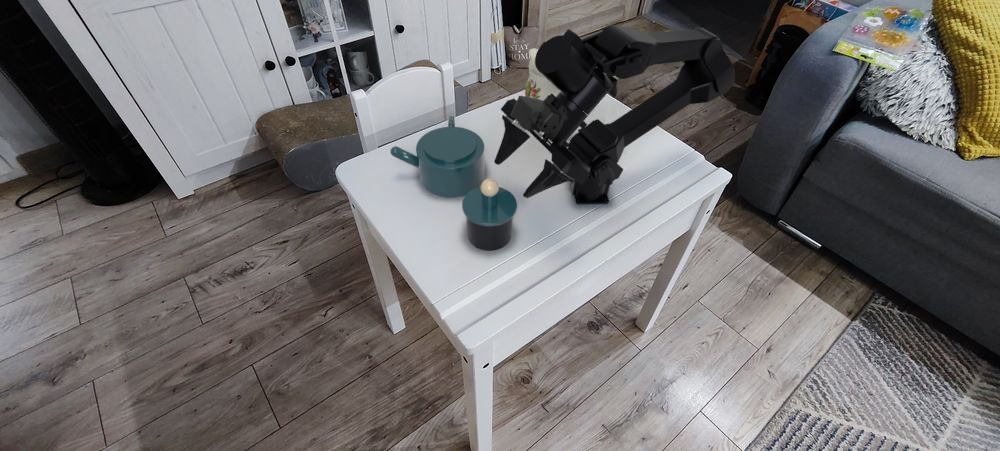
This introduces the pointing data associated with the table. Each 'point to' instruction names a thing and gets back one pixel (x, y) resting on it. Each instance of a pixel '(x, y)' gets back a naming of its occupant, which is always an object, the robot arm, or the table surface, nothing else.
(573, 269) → the table surface
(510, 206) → the teapot lid
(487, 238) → the tea tin
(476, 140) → the teapot
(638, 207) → the table surface
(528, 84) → the pitcher
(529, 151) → the table surface
